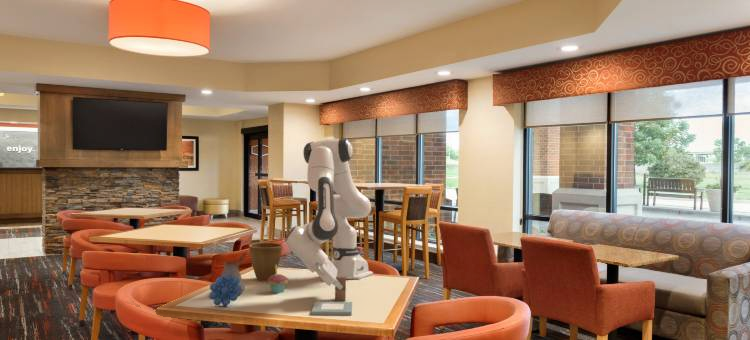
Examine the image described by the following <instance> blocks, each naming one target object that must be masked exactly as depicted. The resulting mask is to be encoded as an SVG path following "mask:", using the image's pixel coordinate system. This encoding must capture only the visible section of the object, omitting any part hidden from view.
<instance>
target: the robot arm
mask: <svg viewBox="0 0 750 340" xmlns="http://www.w3.org/2000/svg"><path fill="white" fill-rule="evenodd" d="M351 142H352V141H350V140H349V139H347V138H343V137H342V138H329V139H328V138H327V139H323V140H318V141H310V142H308V143H306V144H305V145H304V147H303V159H304V161H305V163H306V164H307V171H306V172H307V177H306V178H307V185H308V187H309V188H310V189H311V190H312V191H314V192H316V194H317V211H316V214H315V217H314V218H313V220H312V221H311V222H309V223H305V224H302V225H298V226H297V225H296V226H292V228H291V229H290V230H289V232H288V233H287V235H286V236H285V238H284V239H285V240H284V242H285V245H286V246H287V247H288V249H289V250H290V251H291V252H292V253H293V254H294V256H296V257H297V259H300V260H301V261H302V263H303V265H304V266H306V269H308V270H309V271H310V272H311V273H312V274H313V273H314V272H316V274H317V275H318V276H319V278H320V279H321V280H322V281H323V282H324V284H326V285H327V286H329V287H330V286H336V287H337V288H338V289H339V290H341V289H342V288H343V285H342V284H341V283H339V282H338V281H337V279H336V276H346V280H362V279H363V278H366V277H368V276H372V275H373V274H374V272H373V271H371V270H369V264H368V261H367V260H366V259H364V257H362V256H361V255H360V252H362V251H363V247H362V246H357V237H358V235H357V233H358V232H357V230H356V228H355V227H353V226H352V225H350V223H349V221H348V219H364V218H367V217H368V216H369V215H370V214H371V211H372V203H371V201H370V199H369V198H368V197H367V196H365V195H364V194H362V193H361V192H360V191H359V190H358V188H357V186H356V185H355V183H354V181H353V177H352V173H351V169H350V164H349V163H350V162H349V161H350V160H351V159H352V157H353V152H354V150H353V149H354V148H353V145H352V143H351ZM334 192H335V193H336V194H334ZM330 239H331V240H332V239H333V240H332V241H333V246H332V252H331V253H332V258H331V259H329V255H327V253H325V252H324V250H323V249H322V248H321V247H320V245H322V244H324V243H325V242H327V241H328V240H330Z"/></svg>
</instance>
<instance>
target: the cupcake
mask: <svg viewBox="0 0 750 340" xmlns="http://www.w3.org/2000/svg"><path fill="white" fill-rule="evenodd" d="M275 273H276V274H275V275H272V276H270V277H269V278H268V281H266V282H267V284H268V285H269V287H270V290H271V292H272V293H274V294H275V293H277V294H279V293H280V294H281V293H283V292H284V291H285V287H286V285H287V284H288V283H289V280H288V277H287V276H285V275H283V274H281V273H280V274H279V273H278V268H277V265H275Z"/></svg>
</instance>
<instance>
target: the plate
mask: <svg viewBox="0 0 750 340" xmlns="http://www.w3.org/2000/svg"><path fill="white" fill-rule="evenodd" d="M352 308H353V302H352V301H315V302H314V303H313V307H312V309H311V316H352V311H353V309H352Z"/></svg>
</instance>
